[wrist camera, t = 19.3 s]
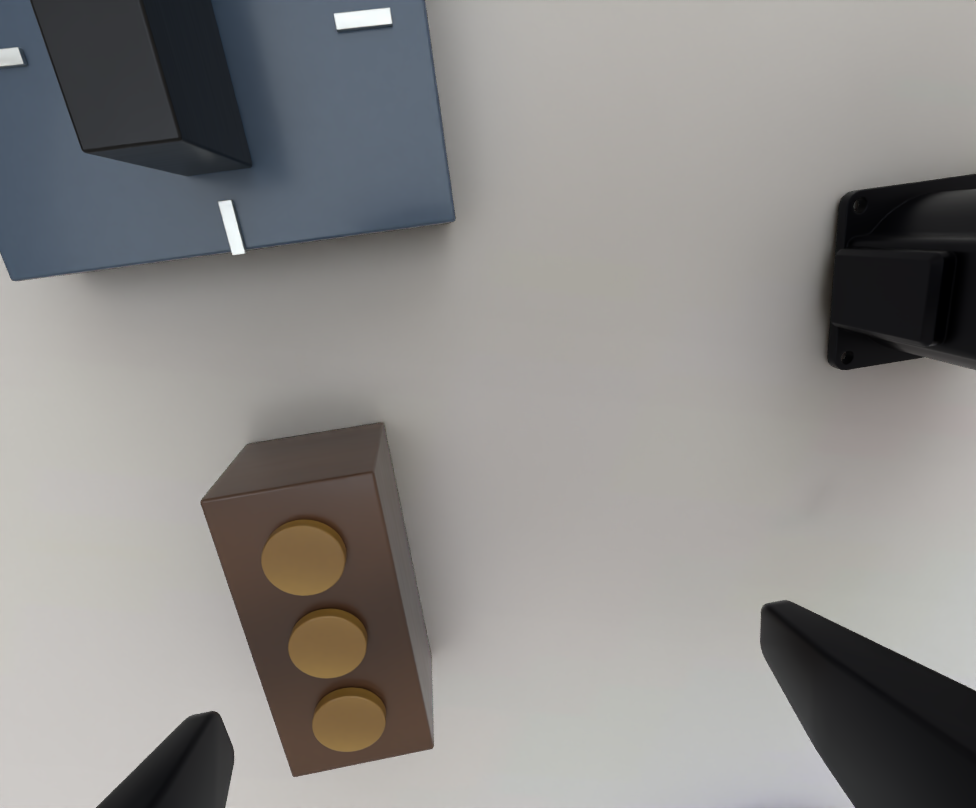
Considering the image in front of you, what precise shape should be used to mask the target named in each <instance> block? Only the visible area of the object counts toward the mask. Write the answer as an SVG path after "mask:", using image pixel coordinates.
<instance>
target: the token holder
mask: <svg viewBox="0 0 976 808" xmlns="http://www.w3.org/2000/svg"><path fill="white" fill-rule="evenodd" d="M201 506H202V509H203V512H204V515H205V518H206V521H207V523H208V526H209V529H210V532H211V535H212V538H213V541H214V544H215V547H216V550H217V553H218V556H219V559H220V562H221V565H222V568H223V571H224V574H225V577H226V580H227V583H228V586H229V589H230V592H231V595H232V598H233V601H234V603H235V606H236V609H237V612H238V615H239V618H240V621H241V624H242V627H243V630H244V633H245V636H246V639H247V642H248V645H249V648H250V651H251V654H252V657H253V660H254V663H255V666H256V669H257V672H258V675H259V678H260V680H261V683H262V686H263V689H264V692H265V695H266V698H267V701H268V704H269V707H270V710H271V713H272V716H273V719H274V722H275V725H276V728H277V731H278V734H279V737H280V740H281V743H282V746H283V749H284V752H285V755H286V758H287V760H288V763H289V766H290V769H291V772H292V775H293V777H298V776H302V775H307V774H312V773H317V772H322V771H327V770H332V769H336V768H341V767H346V766H351V765H356V764H361V763H366V762H371V761H375V760H380V759H385V758H390V757H395V756H400V755H405V754H409V753H414V752H419V751H424V750H429V749H432V748H433V747H434V729H433V689H432V656H431V651H430V646H429V642H428V637H427V632H426V627H425V622H424V617H423V612H422V607H421V602H420V597H419V593H418V588H417V583H416V578H415V573H414V568H413V563H412V558H411V553H410V548H409V544H408V539H407V534H406V529H405V524H404V519H403V514H402V509H401V504H400V499H399V495H398V490H397V485H396V480H395V475H394V470H393V465H392V460H391V455H390V450H389V446H388V441H387V436H386V431H385V426H384V423H382V422H381V423H374V424H368V425H362V426H356V427H350V428H343V429H337V430H331V431H325V432H319V433H312V434H306V435H300V436H294V437H287V438H281V439H275V440H269V441H263V442H256V443H250V444H247V445H245V447H244V448H243V449H242V450H241V452H240V453H239V454H238V455H237V457H236V458H235V459H234V460H233V461H232V463H231V464H230V465H229V466H228V468H227V469H226V470H225V471H224V472H223V474H222V475H221V476H220V477H219V479H218V480H217V481H216V482H215V484H214V485H213V486H212V487H211V488H210V490H209V491H208V492H207V493H206V495H205V496H204V497H203V498H202V500H201Z"/></svg>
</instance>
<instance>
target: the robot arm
mask: <svg viewBox="0 0 976 808" xmlns="http://www.w3.org/2000/svg"><path fill="white" fill-rule="evenodd" d="M856 200H857V201H858V204H859V205H858V208H857V210H856V211H854V207H853V206H854V203H855V201H856ZM844 352H846V355H845V358H844V359H843V360H842V361H841V357H842V355H843V353H844ZM922 357H926V358H930V359H934V360H938V361H942V362H946V363H950V364H954V365H958V366H962V367H966V368H970V369H974V370H976V174H971V175H964V176H957V177H949V178H942V179H935V180H928V181H921V182H913V183H906V184H899V185H892V186H885V187H877V188H870V189H863V190H856V191H851V192H848V193H847V194H846V195H845V196H843V198H842V199H841V201H840V204H839V209H838V223H837V236H836V250H835V263H834V276H833V290H832V303H831V317H830V331H829V344H828V362H829V364H830V365H831V366H833V367H835V368H838V369H841V370H849V369H855V368H861V367H867V366H874V365H880V364H886V363H892V362H898V361H904V360H910V359H916V358H922ZM760 644H761V649H762V653H763V655H764V658H765V660H766V661H767V663H768V665H769V667H770V669H771V670H772V672H773V674H774V676H775V678H776V679H777V681H778V683H779V685H780V686H781V688H782V690H783V692H784V694H785V695H786V697H787V699H788V701H789V703H790V704H791V706H792V708H793V710H794V712H795V713H796V715H797V717H798V719H799V721H800V722H801V724H802V726H803V728H804V730H805V731H806V733H807V735H808V737H809V738H810V740H811V742H812V743H813V745H814V747H815V749H816V750H817V752H818V753H819V755H820V756H821V758H822V759H823V761H824V762H825V764H826V765H827V767H828V768H829V770H830V771H831V773H832V774H833V776H834V777H835V779H836V780H837V782H838V783H839V785H840V786H841V787H842V789H843V790H844V792H845V793H846V795H847V796H848V798H849V799H850V801H851V802H852V804H853V805H854V806H855V808H976V691H975V690H973V689H971V688H969V687H967V686H965V685H962V684H960V683H958V682H956V681H954V680H952V679H950V678H948V677H946V676H944V675H942V674H940V673H938V672H936V671H934V670H932V669H929V668H927V667H925V666H923V665H921V664H919V663H917V662H915V661H913V660H911V659H909V658H907V657H905V656H903V655H901V654H898V653H896V652H894V651H892V650H890V649H888V648H886V647H884V646H882V645H880V644H878V643H876V642H874V641H872V640H870V639H868V638H865V637H863V636H861V635H859V634H857V633H855V632H853V631H851V630H849V629H847V628H845V627H843V626H841V625H839V624H837V623H834V622H832V621H830V620H828V619H826V618H824V617H822V616H820V615H818V614H816V613H814V612H812V611H810V610H808V609H806V608H804V607H801V606H799V605H797V604H795V603H793V602H791V601H787V600H783V601H777V602H772V603H767V604H765V605H764V606H763V607H762V609H761V633H760ZM233 765H234V750H233V746H232V743H231V741H230V738H229V736H228V733H227V731H226V728H225V726H224V723H223V721H222V718H221V716H220V714H218V713H217V712H215V711H210V712H205V713H200V714H195V715H192V716H189V717H188V718H187V719H185V720H184V721H183V722H182V723H181V724H180V725H179V726H178V727H177V728H176V729H175V730H174V731H173V732H172V733H171V734H170V735H169V736H168V737H167V738H166V739H165V740H164V741H163V742H162V743H161V744H160V745H159V746H158V747H157V748H156V749H155V750H154V751H153V752H152V753H151V754H150V755H149V756H148V757H147V758H146V759H145V760H144V761H143V762H142V763H141V764H140V765H139V766H138V767H137V768H136V769H135V770H134V771H133V772H132V773H131V774H130V775H129V776H128V777H127V778H126V779H125V780H124V781H123V782H121V783H120V784H119V785H118V786H117V787H116V788H115V789H114V790H113V791H112V792H111V793H110V794H109V795H108V796H107V797H106V798H105V799H104V800H103V801H102V802H101V803H100V804H99V805H98V806H97V807H96V808H225V806H226V801H227V796H228V791H229V786H230V781H231V775H232V770H233Z"/></svg>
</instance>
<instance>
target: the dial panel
mask: <svg viewBox="0 0 976 808" xmlns="http://www.w3.org/2000/svg"><path fill="white" fill-rule="evenodd" d="M211 3H212V7H213V11H214V15H215V19H216V23H217V27H218V31H219V35H220V39H221V43H222V47H223V50H224V54H225V58H226V62H227V66H228V70H229V74H230V78H231V82H232V86H233V90H234V94H235V98H236V102H237V105H238V109H239V113H240V117H241V121H242V125H243V129H244V133H245V137H246V141H247V145H248V149H249V153H250V157H251V161H252V167H250V168H242V169H235V170H227V171H220V172H212V173H205V174H198V175H190V176H183V175H179V174H174V173H170V172H166V171H161V170H157V169H153V168H148V167H144V166H140V165H135V164H131V163H127V162H122V161H118V160H114V159H109V158H105V157H101V156H96V155H92V154H87V153H84V152H83V151H82V150H81V147H80V144H79V141H78V138H77V136H76V133H75V130H74V127H73V124H72V121H71V118H70V115H69V112H68V109H67V107H66V104H65V101H64V98H63V95H62V92H61V89H60V86H59V83H58V81H57V78H56V75H55V72H54V69H53V66H52V63H51V60H50V57H49V54H48V52H47V49H46V46H45V43H44V40H43V37H42V34H41V31H40V28H39V25H38V23H37V20H36V17H35V14H34V11H33V8H32V5H31V2H30V0H0V253H1V256H2V258H3V261H4V263H5V265H6V268H7V270H8V273H9V275H10V278H11V279H12V280H13V281H22V280H30V279H38V278H46V277H54V276H62V275H70V274H78V273H85V272H93V271H100V270H107V269H115V268H122V267H129V266H137V265H144V264H151V263H159V262H166V261H174V260H181V259H188V258H196V257H203V256H210V255H218V254H225V253H232V255H233V256H234V255H241V254H247V250H255V249H262V248H269V247H277V246H284V245H292V244H299V243H306V242H314V241H321V240H328V239H336V238H343V237H350V236H358V235H365V234H373V233H380V232H387V231H395V230H402V229H409V228H417V227H424V226H432V225H439V224H446V223H451V222H454V221H455V219H456V217H455V210H454V203H453V196H452V189H451V182H450V174H449V167H448V160H447V153H446V146H445V139H444V132H443V124H442V117H441V110H440V103H439V96H438V89H437V82H436V75H435V67H434V60H433V53H432V46H431V39H430V32H429V25H428V17H427V10H426V3H425V0H211Z"/></svg>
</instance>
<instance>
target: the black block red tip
mask: <svg viewBox="0 0 976 808" xmlns="http://www.w3.org/2000/svg"><path fill="white" fill-rule="evenodd" d="M30 2H31V5H32V8H33V11H34V14H35V17H36V20H37V23H38V25H39V28H40V31H41V34H42V37H43V40H44V43H45V46H46V49H47V52H48V54H49V57H50V60H51V63H52V66H53V69H54V72H55V75H56V78H57V81H58V83H59V86H60V89H61V92H62V95H63V98H64V101H65V104H66V107H67V109H68V112H69V115H70V118H71V121H72V124H73V127H74V130H75V133H76V136H77V138H78V141H79V144H80V147H81V150H82V151H83V152H84V153H87V154H92V155H96V156H101V157H105V158H109V159H114V160H118V161H122V162H127V163H131V164H135V165H140V166H144V167H148V168H153V169H157V170H161V171H166V172H170V173H174V174H179V175H183V176H190V175H198V174H205V173H212V172H220V171H227V170H235V169H242V168H250V167H252V161H251V157H250V153H249V149H248V145H247V141H246V137H245V133H244V129H243V125H242V121H241V117H240V113H239V109H238V105H237V102H236V98H235V94H234V90H233V86H232V82H231V78H230V74H229V70H228V66H227V62H226V58H225V54H224V50H223V47H222V43H221V39H220V35H219V31H218V27H217V23H216V19H215V15H214V11H213V7H212V3H211V0H30Z"/></svg>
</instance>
